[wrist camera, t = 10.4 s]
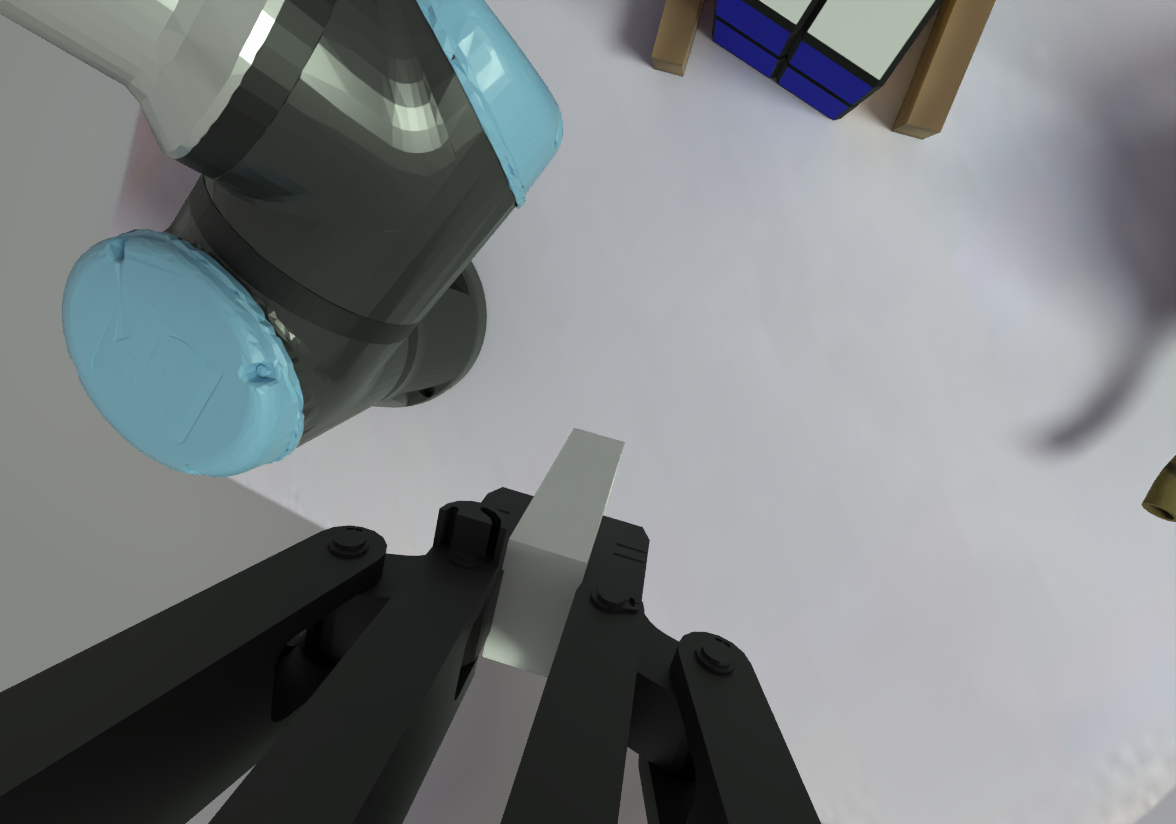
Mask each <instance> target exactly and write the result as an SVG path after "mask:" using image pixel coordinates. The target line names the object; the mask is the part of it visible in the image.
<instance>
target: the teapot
mask: <svg viewBox="0 0 1176 824" xmlns="http://www.w3.org/2000/svg"><path fill="white" fill-rule="evenodd" d="M1142 506H1143V508H1144V509H1146V510H1147V511H1148V512H1150V513H1151V514H1153V515H1155V516H1157V517H1159V518H1162V519H1165V520H1168V521H1173V522H1176V455H1175V456H1174V458H1173V459H1172V460H1171V461H1170V462H1169V463H1168V464H1167V465H1166V466H1165V467H1164V468H1163V470H1162V471H1161V472H1160V474H1159V475H1158V477H1157V478H1156V480H1155V481H1154V483H1153V485H1152V486H1151V488H1150V490H1149V492H1148V494H1147V496H1146V497H1145V499H1144V501H1143V503H1142Z"/></svg>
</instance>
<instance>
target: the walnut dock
mask: <svg viewBox="0 0 1176 824" xmlns="http://www.w3.org/2000/svg"><path fill="white" fill-rule="evenodd" d="M704 1H705V0H666V3H665V6H664V10H663V14H662V18H661V21H660V25H659V29H658V33H657V37H656V40H655V44H654V48H653V52H652V55H651V58H652V62H653V66H654V69H656V70H660V71H664V72H668V73H671V74H675V75H679V76H683V75H684V71H685V68H686V64H687V61H688V57H689V54H690V50H691V47H692V43H693V40H694V36H695V33H696V29H697V26H698V22H699V18H700V15H701V11H702V8H703V4H704ZM995 1H996V0H943V2H942V5H941V7H940V10H939V13H938V15H937V18H936V20H935V23H934V25H933V28H932V30H931V33H930V35H929V38H928V40H927V43H926V45H925V48H924V51H923V53H922V56H921V58H920V61H919V63H918V66H917V68H916V71H915V73H914V76H913V78H912V81H911V83H910V86H909V89H908V91H907V94H906V96H905V99H904V101H903V104H902V106H901V109H900V111H899V114H898V116H897V119H896V121H895V124H894V127H893V129H892V132H896V133H900V134H904V135H907V136H911V137H915V138H919V139H925V138H927V137H930V136H932V135H934V134H937V133H939V132H941V129H942V127H943V125H944V122H945V120H946V117H947V115H948V113H949V110H950V108H951V106H952V103H953V101H954V98H955V96H956V94H957V91H958V89H959V86H960V84H961V82H962V79H963V77H964V74H965V72H966V70H967V67H968V65H969V63H970V60H971V58H972V55H973V53H974V51H975V48H976V46H977V43H978V41H979V39H980V36H981V34H982V32H983V29H984V27H985V24H986V22H987V20H988V17H989V15H990V12H991V10H992V8H993V5H994V3H995Z"/></svg>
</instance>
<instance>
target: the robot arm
mask: <svg viewBox="0 0 1176 824" xmlns="http://www.w3.org/2000/svg"><path fill="white" fill-rule="evenodd" d="M0 14H1V15H3V16H5V17H6V18H8V19H10V20H12V21H14V22H15V23H17V24H19V25H20V26H22V27H24V28H26V29H27V30H29V31H31V32H33V33H34V34H36V35H38V36H39V37H41V38H43V39H45V40H46V41H48V42H50V43H52V44H53V45H55V46H57V47H59V48H60V49H62V50H64V51H66V52H67V53H69V54H71V55H73V56H74V57H76V58H78V59H80V60H81V61H83V62H85V63H86V64H88V65H90V66H92V67H93V68H95V69H97V70H99V71H100V72H102V73H104V74H106V75H107V76H109V77H111V78H112V79H114V80H116V81H118V82H119V83H121V84H123V85H125V86H126V87H127V89H128V90H129V91H130V92H131V93H132V95H133V96H134V97H135V98H136V99H137V100H138V102H139V103H140V105H141V108H142V110H143V112H144V114H145V116H146V118H147V121H148V123H149V125H150V127H151V129H152V132H153V134H154V136H155V138H156V140H157V142H158V145H159V147H160V149H161V151H162V152H163V153H164V154H166V155H167V156H169V157H171V158H173V159H175V160H177V161H178V162H180V163H182V164H184V165H186V166H188V167H190V168H192V169H194V170H195V171H197V172H199V173H201V174H202V175H201V176H200V178H199V180H198V181H197V183H196V185H195V186H194V188H193V190H192V191H191V193H190V195H189V196H188V198H187V199H186V201H185V203H184V204H183V206H182V208H181V209H180V211H179V213H178V214H177V216H176V218H175V219H174V221H173V223H172V224H171V225H170V227H169V228H168V229H166V230H165V231H163V232H156V231H152V230H148V229H136V230H132V231H130V232H127V233H122V234H120V235H119V236H117V237H113V238H109V239H106V240H103V241H101V242H99V243H97V244H95V245H93V246H92V247H91V248H90V249H89V250H87V251H86V252H85V253H84V254H83V255H82V256H80V258H79V259H78V260H77V261H76V263H75V265H74V266H73V268H72V270H71V272H70V274H69V276H68V279H67V282H66V286H65V290H64V294H63V301H62V323H63V332H64V336H65V340H66V345H67V350H68V353H69V356H70V358H71V359H72V361H73V363H74V365H75V367H76V369H77V372H78V376H79V380H80V382H81V384H82V386H83V388H84V390H85V391H86V393H87V395H88V396H89V398H90V399H91V401H92V402H93V404H94V405H95V407H96V408H97V409H98V411H99V412H100V413H101V414H102V416H103V417H104V418H105V420H106V421H107V422H108V423H109V424H110V425H111V426H112V427H113V428H114V429H115V430H116V431H117V432H118V433H119V434H120V435H121V436H122V437H123V438H124V439H125V440H126V441H128V442H129V443H130V444H131V445H133V446H134V447H135V448H136V449H138V450H139V451H141V452H142V453H144V454H145V455H147V456H148V457H150V458H152V459H153V460H155V461H157V462H159V463H161V464H163V465H165V466H167V467H169V468H172V469H175V470H177V471H181V472H184V473H188V474H192V475H198V474H202V475H208V476H211V477H227V476H233V475H237V474H240V473H244V472H246V471H249V470H251V469H254V468H256V467H259V466H261V465H264V464H267V463H273V462H275V461H280V460H282V459H283V458H284V457H285V456H286V455H289V454H290V453H292V452H293V451H294V450H295V448H297V447H299V446H301V445H302V444H304V443H306V442H308V441H310V440H312V439H313V438H315V437H317V436H319V435H321V434H322V433H324V432H326V431H328V430H330V429H331V428H333V427H335V426H337V425H339V424H341V423H342V422H344V421H346V420H348V419H350V418H351V417H353V416H355V415H357V414H359V413H361V412H362V411H364V410H366V409H368V408H370V407H371V406H377V407H408V406H413V405H417V404H421V403H424V402H427V401H429V400H431V399H434V398H435V397H437V396H439V395H441V394H442V393H444V392H445V391H447V390H449V389H450V388H451V387H453V386H454V385H456V384H457V383H458V382H459V381H460V380H461V379H462V378H463V377H464V376H465V375H466V374H467V373H468V371H469V370H470V369H471V367H472V366H473V364H474V363H475V361H476V359H477V357H478V355H479V352H480V350H481V347H482V344H483V341H484V337H485V331H486V320H487V313H486V301H485V296H484V291H483V287H482V284H481V281H480V278H479V276H478V273H477V271H476V269H475V267H474V265H473V263H472V262H471V260H472V259H473V258H474V257H475V255H476V254H477V253H478V252H479V250H480V249H481V248H482V247H483V246H484V244H485V243H486V242H487V241H488V239H489V238H490V237H491V236H492V235H493V233H494V232H495V231H496V230H497V229H498V227H499V226H500V225H501V224H502V222H503V221H504V220H505V219H506V218H507V216H508V215H509V214H510V213H511V211H512V210H513V209H514V208H515V207H517V208H518V209H519V208H520V207H521V206H522V205H523V204H524V202H525V194H526V193H527V192H528V190H529V189H530V188H531V186H532V185H533V184H534V182H535V181H536V180H537V178H538V177H539V176H540V174H541V173H542V172H543V170H544V169H545V168H546V166H547V165H548V164H549V162H550V161H551V160H552V158H553V157H554V155H555V154H556V152H557V150H558V148H559V146H560V144H561V140H562V136H563V121H562V116H561V112H560V109H559V107H558V104H557V102H556V100H555V99H554V97H553V95H552V94H551V92H550V90H549V89H548V87H547V86H546V84H545V83H544V81H543V80H542V78H541V77H540V75H539V74H538V73H537V71H536V70H535V68H534V67H533V65H532V64H531V63H530V61H529V60H528V58H527V57H526V56H525V54H524V53H523V51H522V50H521V49H520V47H519V46H518V45H517V43H516V42H515V40H514V39H513V38H512V36H511V35H510V34H509V32H508V31H507V30H506V28H505V27H504V26H503V24H502V23H501V22H500V21H499V19H498V18H497V17H496V15H495V14H494V13H493V11H492V10H491V9H490V7H489V6H488V5H487V4H486V2H485V1H484V0H0ZM624 443H625V442H622V441H618V440H615V439H611V438H608V437H604V436H601V435H597V434H594V433H591V432H587V431H584V430H580V429H577V428H574V429H573V431H572V433H571V434H570V436H569V438H568V440H567V441H566V443H565V445H564V446H563V448H562V450H561V451H560V453H559V455H558V457H557V458H556V460H555V462H554V463H553V465H552V467H551V468H550V470H549V472H548V474H547V475H546V477H545V479H544V480H543V482H542V484H541V485H540V487H539V489H538V491H537V492H536V494H535V496H531V495H528V494H524V493H521V492H518V491H514V490H511V489H507V488H504V487H502V488H500V489H497V490H495V491H493V492H490V493H488V494H487V496H486V497H485V498H484V499H483V501H482V502H481V503H479V502H474V501H456V502H452V503H448V504H446V505H444V506H443V507H441V508H440V509H439V515H438V520H437V526H436V531H435V537H434V543H433V547H432V548H431V549H430V550H429V552H428V553H427V554H426V555H421V556H405V555H395V554H386V549H387V544H386V542H385V540H384V538H383V537H382V536H380V535H379V534H378V533H376V532H375V531H372V530H369V529H366V528H363V527H358V526H357V527H356V526H340V527H333V528H330V529H327V530H324V531H321V532H319V533H317V534H315V535H313V536H311V537H309V538H307V539H305V540H303V541H301V542H299V543H297V544H295V545H293V546H291V547H289V548H287V549H285V550H283V551H281V552H279V553H277V554H275V555H273V556H271V557H269V558H267V559H266V560H263V561H261V562H259V563H257V564H255V565H253V566H251V567H249V568H247V569H245V570H243V571H242V572H239V573H237V574H235V575H233V576H232V577H229V578H228V579H225V580H223V581H221V582H220V583H218V584H215V585H214V586H212V587H210V588H208V589H206V590H204V591H202V592H200V593H198V594H196V595H194V596H192V597H190V598H188V599H186V600H184V601H182V602H180V603H178V604H176V605H174V606H172V607H170V608H168V609H166V610H164V611H162V612H160V613H158V614H156V615H154V616H152V617H150V618H148V619H146V620H144V621H142V622H140V623H138V624H136V625H134V626H132V627H130V628H128V629H126V630H124V631H122V632H120V633H118V634H116V635H114V636H112V637H110V638H108V639H106V640H104V641H102V642H100V643H98V644H96V645H94V646H92V647H90V648H88V649H86V650H84V651H83V652H80V653H78V654H76V655H74V656H72V657H70V658H68V659H66V660H64V661H62V662H60V663H58V664H56V665H54V666H52V667H50V668H48V669H46V670H44V671H42V672H40V673H38V674H36V675H34V676H32V677H30V678H28V679H26V680H24V681H22V682H20V683H18V684H17V685H15V686H12V687H11V688H8V689H6V690H4V691H2V692H0V824H185V823H187V822H188V821H189V820H190V819H191V818H193V817H194V816H195V815H196V814H197V813H198V812H200V811H201V810H202V809H203V808H204V807H206V806H207V805H208V804H209V803H210V802H211V801H213V800H214V799H215V798H216V797H217V796H219V795H220V794H221V793H222V792H223V791H225V790H226V789H227V788H228V787H229V786H231V785H232V784H233V783H234V782H235V781H236V780H238V779H239V778H240V777H241V776H242V775H244V774H245V773H246V772H247V771H248V770H249V769H251V768H252V767H253V766H254V765H255V764H256V765H255V767H254V768H253V769H252V770H251V771H250V773H249V774H248V775H247V776H246V778H245V779H244V780H243V781H242V783H241V784H240V785H239V786H238V788H237V789H236V790H235V791H234V793H233V794H232V795H231V796H230V797H229V799H228V800H227V801H226V802H225V804H224V805H223V806H222V807H221V809H220V810H219V811H218V812H217V813H216V815H215V816H214V817H213V818H212V820H211V821H210V822H209V823H208V824H402V823H403V821H404V819H405V817H406V815H407V813H408V811H409V809H410V807H411V805H412V803H413V800H414V798H415V797H416V794H417V792H418V790H419V788H420V786H421V784H422V782H423V780H424V778H425V776H426V774H427V772H428V770H429V768H430V765H431V763H432V761H433V759H434V757H435V755H436V753H437V751H438V749H439V747H440V745H441V743H442V741H443V739H444V736H445V734H446V732H447V730H448V728H449V726H450V724H451V722H452V720H453V718H454V716H455V714H456V712H457V709H458V707H459V705H460V703H461V701H462V699H463V697H464V695H465V693H466V691H467V689H468V687H469V685H470V683H471V681H472V678H473V676H474V673H475V668H476V664H477V660H478V655H479V653H480V651H481V649H482V647H483V645H484V643H485V641H486V643H485V648H484V651H483V657H486V658H489V659H492V660H495V661H498V662H501V663H504V664H507V665H511V666H514V667H517V668H520V669H523V670H526V671H529V672H532V673H535V674H538V675H542V676H544V677H548V679H547V682H546V685H545V688H544V691H543V694H542V697H541V700H540V703H539V706H538V710H537V713H536V716H535V719H534V722H533V725H532V728H531V731H530V734H529V738H528V740H527V744H526V747H525V750H524V753H523V756H522V759H521V762H520V765H519V768H518V772H517V775H516V777H515V780H514V784H513V787H512V790H511V793H510V796H509V799H508V802H507V805H506V808H505V811H504V814H503V818H502V821H501V824H617V823H618V815H619V807H620V800H621V792H622V784H623V775H624V768H625V760H626V752H627V747H629V748H630V749H632V750H633V751H635V752H636V753H638V754H639V766H638V767H639V773H640V779H641V785H642V791H643V797H644V803H645V809H646V816H647V822H648V824H821V822H820V820H819V818H818V816H817V813H816V811H815V809H814V806H813V804H812V802H811V800H810V797H809V795H808V793H807V790H806V788H805V786H804V784H803V781H802V779H801V777H800V774H799V772H798V770H797V768H796V765H795V763H794V761H793V758H792V756H791V754H790V752H789V749H788V747H787V745H786V743H785V740H784V738H783V736H782V733H781V731H780V729H779V727H778V724H777V722H776V720H775V717H774V715H773V713H772V711H771V708H770V706H769V704H768V701H767V699H766V697H765V695H764V692H763V690H762V688H761V685H760V683H759V681H758V679H757V676H756V674H755V672H754V669H753V667H752V665H751V663H750V661H749V660H748V658H747V657H746V655H745V654H744V653H743V652H742V651H741V650H740V649H739V648H738V647H737V646H735V645H734V644H733V643H731V642H730V641H728V640H726V639H724V638H722V637H720V636H718V635H714V634H711V633H707V632H691V633H689V634H686V635H684V636H683V637H682V639H681V640H680V641H677V640H675V639H673V638H671V637H670V636H668V635H666V634H665V633H663V632H662V631H660V630H659V629H657V628H656V627H655V626H654V625H653V624H652V623H651V622H650V621H649V620H648V618H647V617H646V616H645V614H644V606H643V602H642V601H641V600H642V593H643V586H644V578H645V571H646V563H647V556H648V555H647V554H648V548H649V541H650V540H649V538H648V536H647V535H646V533H645V531H644V529H643V527H640V526H637V525H633V524H630V523H627V522H623V521H620V520H617V519H613V518H610V517H607V516H604V514H605V511H606V507H607V504H608V500H609V497H610V493H611V490H612V486H613V482H614V479H615V475H616V472H617V468H618V465H619V461H620V458H621V454H622V450H623V447H624Z"/></svg>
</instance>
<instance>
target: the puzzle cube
mask: <svg viewBox="0 0 1176 824" xmlns="http://www.w3.org/2000/svg"><path fill="white" fill-rule="evenodd" d="M942 1H943V0H715V4H714V7H715V10H714V18H713V29H712V36H713V41H714V42H715V43H717V44H719V45H720V46H722V47H723V48H725V49H726V50H728V51H729V52H731V53H732V54H734V55H735V56H737V57H738V58H740V59H741V60H743V61H744V62H746V63H747V64H749V65H750V66H752V67H753V68H755V69H756V70H758V71H759V72H761V73H762V74H764V75H765V76H767V77H768V78H772V77H775V76H777V83H778V84H779V85H781V86H782V87H784V88H785V89H787V90H788V91H790V92H791V93H793V94H794V95H796V96H797V97H799V98H800V99H802V100H803V101H805V102H806V103H808V104H809V105H811V106H812V107H814V108H815V109H817V110H818V111H820V112H821V113H823V114H824V115H826V116H828V117H829V118H831V119H832V120H837V119H841V118H842V117H843V116H845V115H846V114H847V113H849V112H850V111H851V110H853V109H854V108H855V107H856V106H858V104H859V103H861V102H862V101H864V100H865V99H866V98H868V97H869V96H870V95H871V94H873V93H874V92H875V91H877V90H878V89H879V88H880V87H882V86H883V85H884V83H885V82H886V81H887V79H888V78H889V76H890V75H891V73H892V72H893V71H894V69H895V68H896V66H897V65H898V63H899V62H900V61H901V59H902V58H903V56H904V55H905V54H906V52H907V51H908V49H909V48H910V46H911V45H912V44H913V42H914V41H915V39H916V38H917V36H918V35H919V34H920V32H921V31H922V29H923V28H924V26H925V25H926V24H927V22H928V21H929V19H930V18H931V17H932V15H933V14H934V12H935V11H936V9H937V8H938V7H939V5H940V4H941V2H942Z"/></svg>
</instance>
